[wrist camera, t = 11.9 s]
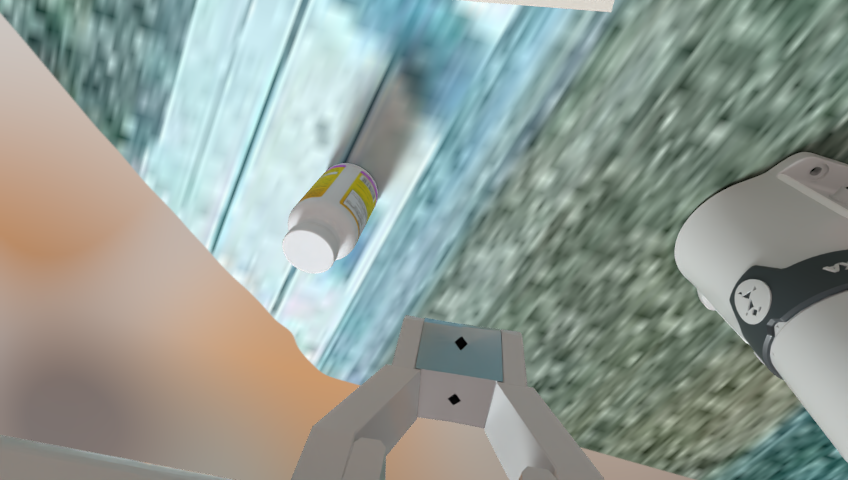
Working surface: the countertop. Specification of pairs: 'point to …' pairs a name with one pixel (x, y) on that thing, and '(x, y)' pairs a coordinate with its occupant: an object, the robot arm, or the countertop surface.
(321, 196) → the supplement bottle
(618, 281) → the countertop surface
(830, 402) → the robot arm
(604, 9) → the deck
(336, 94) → the countertop surface
